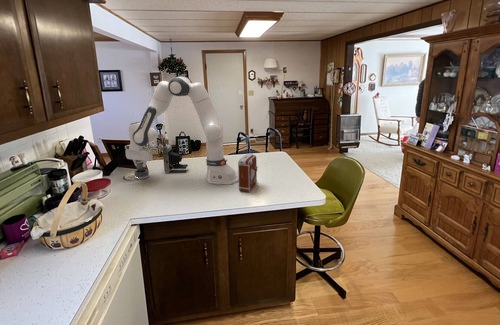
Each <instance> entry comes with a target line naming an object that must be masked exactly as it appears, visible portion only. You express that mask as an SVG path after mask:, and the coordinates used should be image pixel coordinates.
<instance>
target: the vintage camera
mask: <svg viewBox="0 0 500 325" xmlns="http://www.w3.org/2000/svg"><path fill="white" fill-rule="evenodd" d="M172 148H173V147H172V145H171V144H170V143H167V144H166V145H164V146H163V147H162V155H163V169H164V170H163V172H164V173H165V174H169V173H170V172H171V171H172V170H184V169H185V172H187V168H188V166H189V164H185V163H181V162H182V160H183V156H184V154H185V151H181V152H180V153H179V152H175V151H172V150H173V149H172Z"/></svg>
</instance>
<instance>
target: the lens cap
mask: <svg viewBox="0 0 500 325" xmlns="http://www.w3.org/2000/svg"><path fill="white" fill-rule="evenodd" d="M143 163H144V162H143V161H141V160H137V162H136V165H137V166H136V170H144V169H146V167H143V166H142V164H143Z"/></svg>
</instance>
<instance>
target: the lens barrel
mask: <svg viewBox="0 0 500 325" xmlns="http://www.w3.org/2000/svg"><path fill="white" fill-rule="evenodd" d="M133 173H134V177H135V176H136V177H138V178H139V179H140V180H146V179H148V178H149V177H150V174H149V173H150V172H149V169H148V168H145V169H144V170H137V169H136V170H134V172H133ZM139 179H138V180H139Z"/></svg>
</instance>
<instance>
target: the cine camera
mask: <svg viewBox="0 0 500 325" xmlns="http://www.w3.org/2000/svg"><path fill="white" fill-rule="evenodd" d="M237 162H238V163H237V169H238V170H237V171H238V172H237V173H238V175H237V176H239V180H238V190H239V191H240V192H247V193H248V192H249V193H251V191H252V190H253V189H254V188H255V187H256V185H257V182H258V181H257V180H258V179H257V178H258V177H257V176H258V175H257V172H258V168H259V167H258V166H257V156H256V155H255V154H253V153H247V154H245V155H243V156H242V157H240V159H238V161H237Z"/></svg>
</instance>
